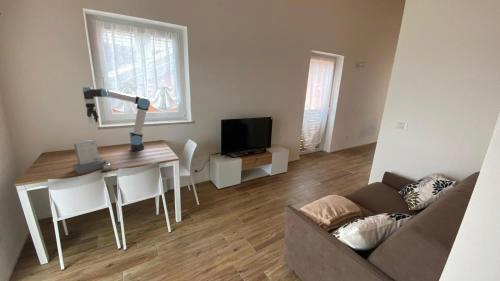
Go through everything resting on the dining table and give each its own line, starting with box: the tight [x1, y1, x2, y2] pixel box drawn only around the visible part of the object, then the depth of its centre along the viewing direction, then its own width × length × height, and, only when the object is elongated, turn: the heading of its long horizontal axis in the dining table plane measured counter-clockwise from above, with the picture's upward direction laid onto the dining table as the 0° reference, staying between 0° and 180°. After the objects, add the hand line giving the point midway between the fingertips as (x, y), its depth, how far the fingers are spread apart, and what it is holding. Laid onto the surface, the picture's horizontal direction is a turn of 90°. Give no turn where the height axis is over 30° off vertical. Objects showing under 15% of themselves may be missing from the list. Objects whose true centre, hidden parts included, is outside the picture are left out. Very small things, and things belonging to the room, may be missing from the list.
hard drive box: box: [73, 139, 100, 165], centre depth 193 cm, size 16×8×20 cm, turn 140°
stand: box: [71, 156, 107, 175], centre depth 196 cm, size 22×14×6 cm, turn 146°
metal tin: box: [102, 162, 113, 172], centre depth 195 cm, size 7×7×5 cm
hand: (94, 124), depth 212 cm, fingers open, 13 cm apart
